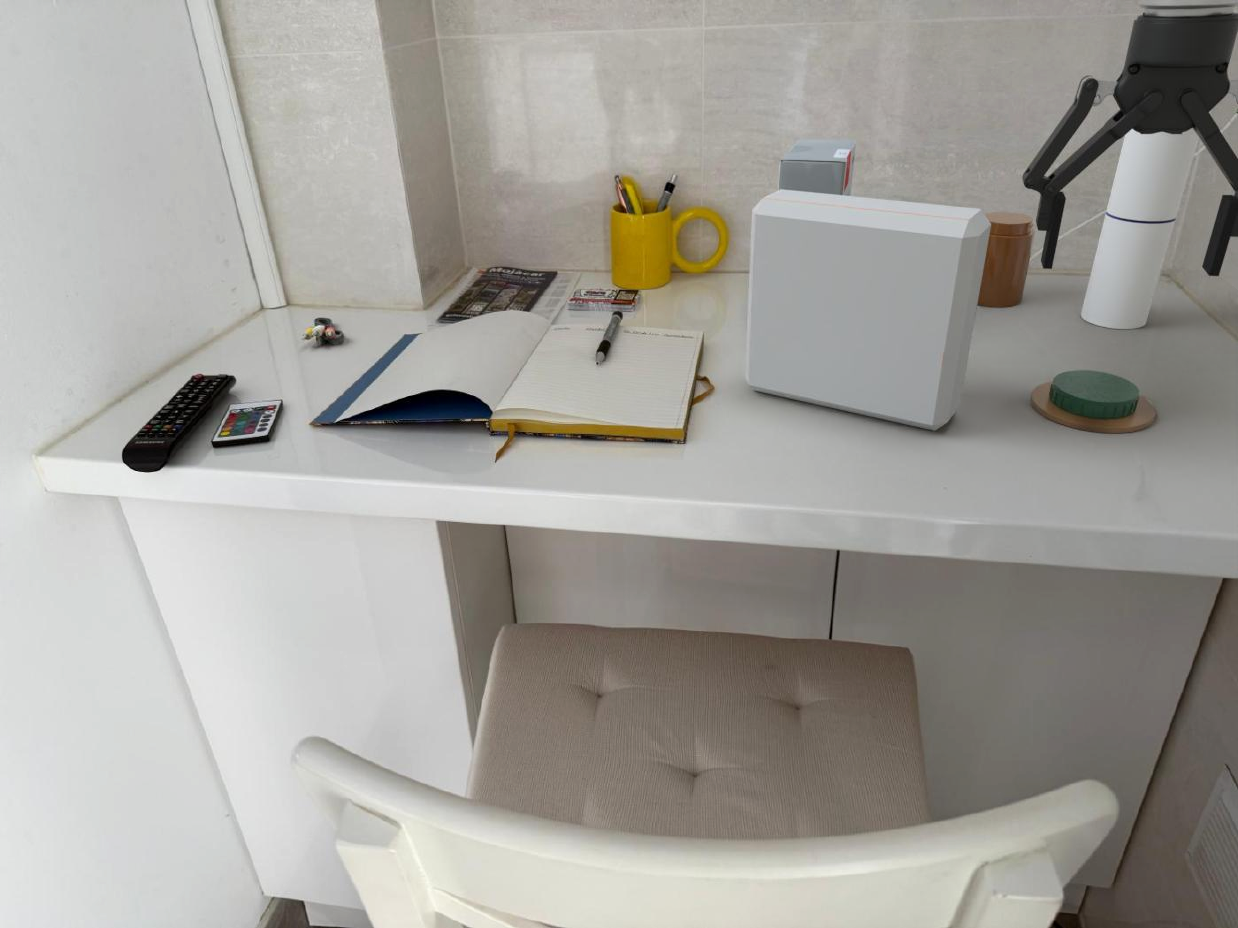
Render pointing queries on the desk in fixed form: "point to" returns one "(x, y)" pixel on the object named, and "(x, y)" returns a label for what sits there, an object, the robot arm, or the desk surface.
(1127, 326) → the cylindrical container
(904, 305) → the bevelled white case
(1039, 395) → the coaster
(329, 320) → the composite cable
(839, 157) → the hard drive box
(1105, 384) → the jar lid
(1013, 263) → the brown lidded jar
